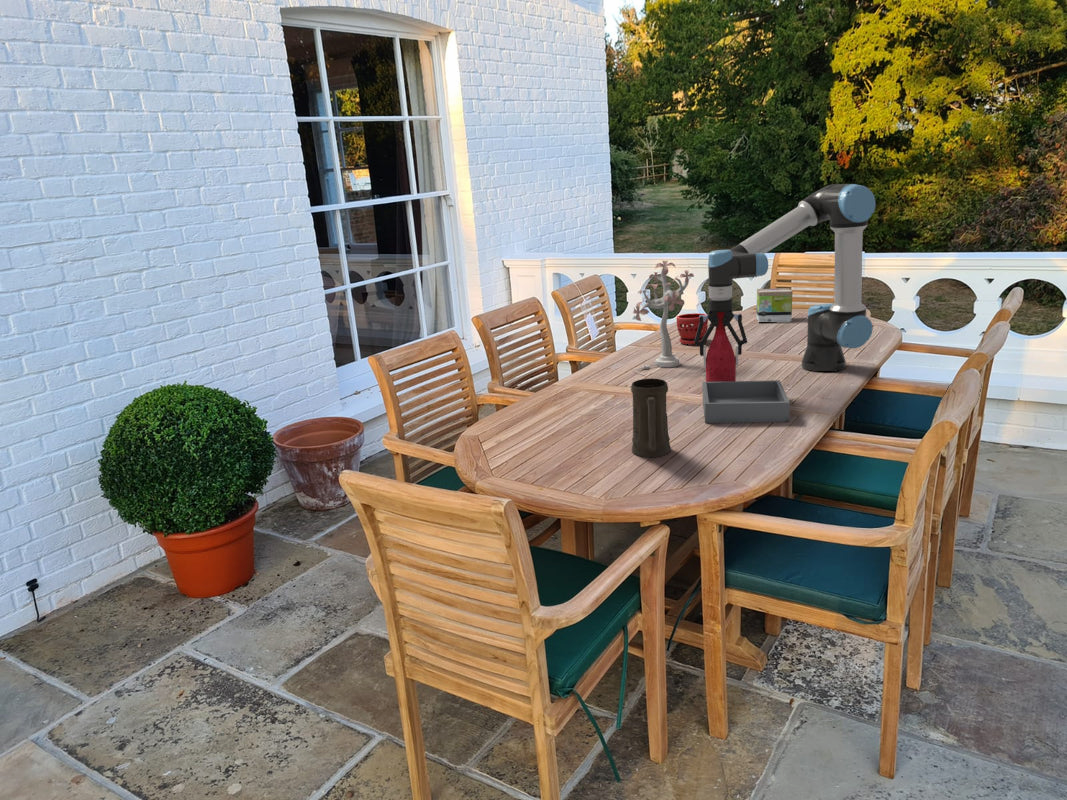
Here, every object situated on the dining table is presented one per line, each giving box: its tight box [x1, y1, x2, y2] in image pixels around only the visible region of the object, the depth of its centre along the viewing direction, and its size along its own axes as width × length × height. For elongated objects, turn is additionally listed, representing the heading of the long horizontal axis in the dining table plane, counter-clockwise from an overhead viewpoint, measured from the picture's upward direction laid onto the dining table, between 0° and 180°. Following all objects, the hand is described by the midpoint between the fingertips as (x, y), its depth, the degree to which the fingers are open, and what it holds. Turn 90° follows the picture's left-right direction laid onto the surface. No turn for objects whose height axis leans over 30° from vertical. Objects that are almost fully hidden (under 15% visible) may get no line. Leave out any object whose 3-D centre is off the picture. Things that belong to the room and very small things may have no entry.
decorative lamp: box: [632, 259, 695, 377], centre depth 304 cm, size 28×24×40 cm
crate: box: [702, 379, 791, 424], centre depth 250 cm, size 24×24×6 cm
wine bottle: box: [705, 312, 737, 382], centre depth 266 cm, size 10×10×30 cm
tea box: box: [755, 287, 793, 323], centre depth 372 cm, size 15×10×15 cm, turn 81°
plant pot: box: [676, 312, 709, 346], centre depth 342 cm, size 13×13×12 cm
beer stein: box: [630, 378, 672, 458], centre depth 217 cm, size 15×11×20 cm
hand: (720, 364), depth 268 cm, fingers closed on wine bottle, 10 cm apart
